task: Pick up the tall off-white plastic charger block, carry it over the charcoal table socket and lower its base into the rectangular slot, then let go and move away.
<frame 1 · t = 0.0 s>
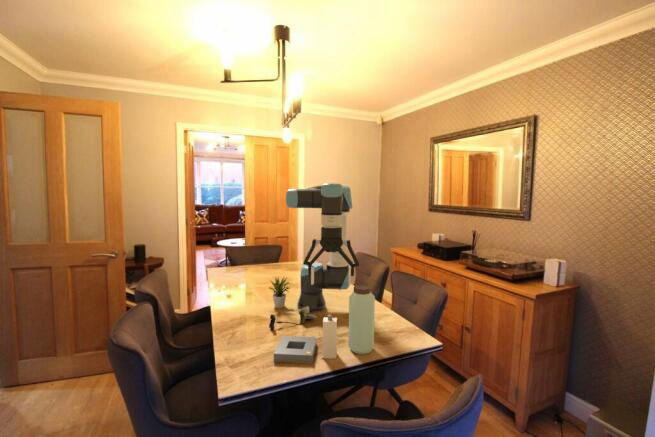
hand: (331, 284, 115), 28 cm above the table, tool pointing down, fingers open, 13 cm apart
artificial flower: (293, 324, 147), on the table
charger: (329, 355, 118), on the table
socket: (296, 352, 120), on the table
water bottle: (361, 349, 123), on the table
house plant: (279, 307, 167), on the table
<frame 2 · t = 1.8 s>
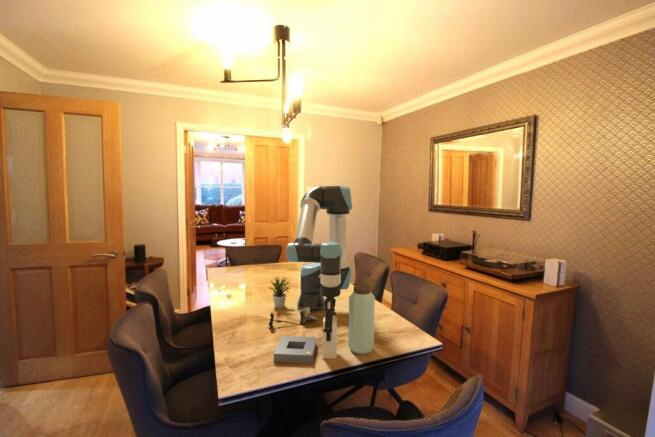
hand: (329, 339, 117), 6 cm above the table, tool pointing down, fingers open, 13 cm apart
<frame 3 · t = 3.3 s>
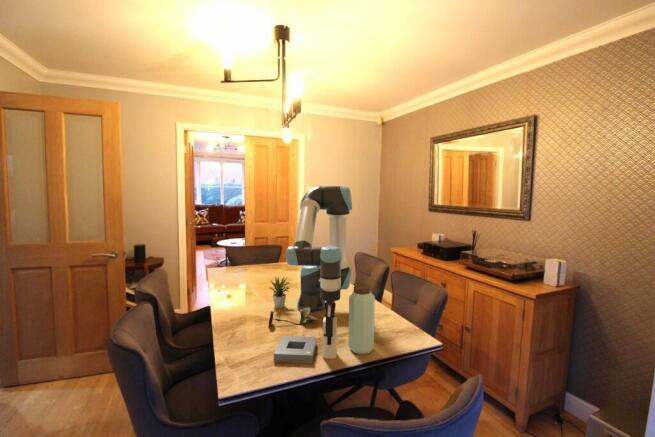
hand: (329, 348, 118), 3 cm above the table, tool pointing down, fingers closed on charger, 4 cm apart
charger: (329, 355, 118), on the table, touching gripper
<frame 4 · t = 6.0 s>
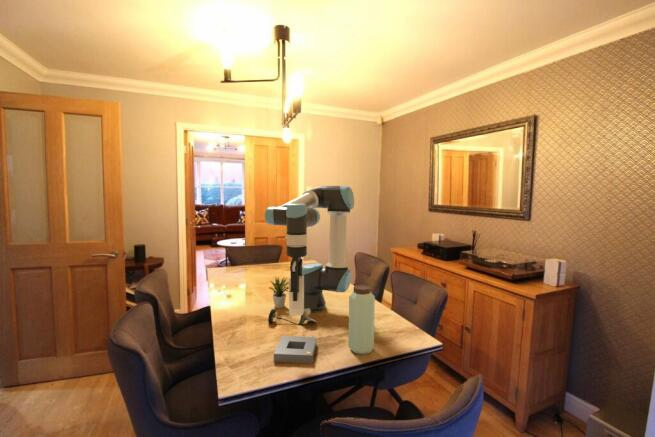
hand: (296, 306, 118), 18 cm above the table, tool pointing down, fingers closed on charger, 4 cm apart
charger: (296, 313, 119), point 16 cm above the table, touching gripper
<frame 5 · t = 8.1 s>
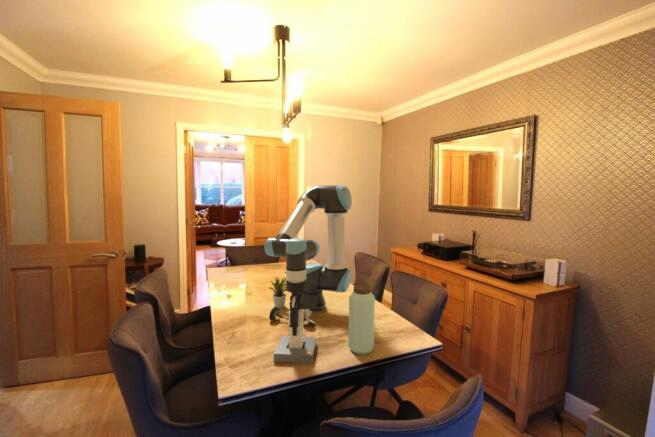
hand: (296, 339, 120), 5 cm above the table, tool pointing down, fingers closed on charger, 4 cm apart
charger: (296, 346, 120), point 2 cm above the table, touching gripper
when the fingers open (5 cm above the table, at t = 8.4 s): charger drops 2 cm, resting in socket.
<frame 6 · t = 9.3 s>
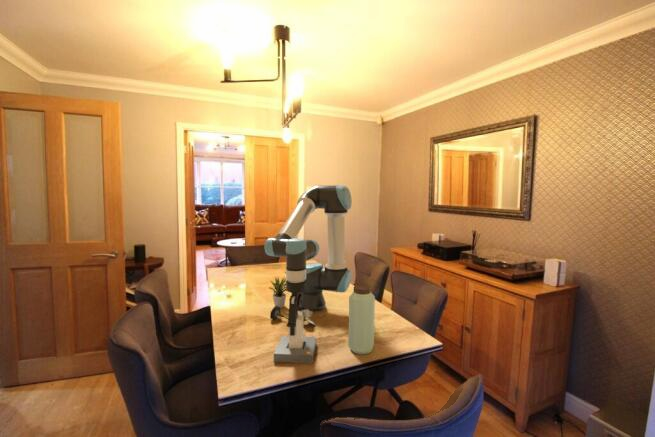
hand: (296, 334, 120), 7 cm above the table, tool pointing down, fingers open, 13 cm apart
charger: (296, 352, 120), resting in socket
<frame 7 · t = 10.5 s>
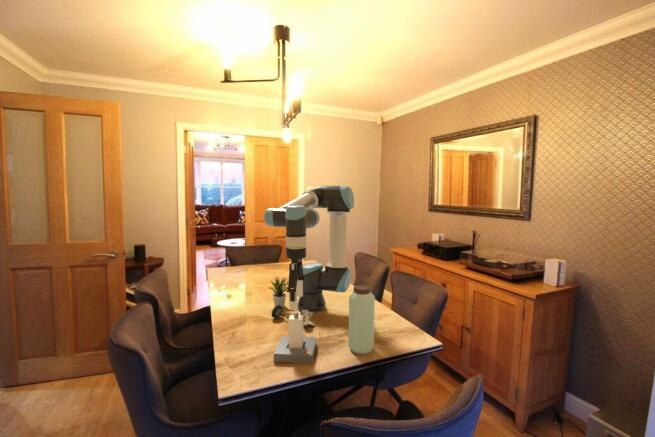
hand: (296, 302, 119), 20 cm above the table, tool pointing down, fingers open, 13 cm apart
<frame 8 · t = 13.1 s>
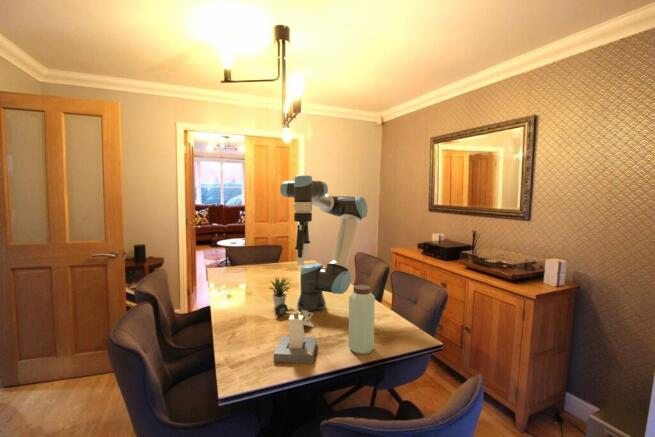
hand: (302, 261, 134), 32 cm above the table, tool pointing down, fingers open, 13 cm apart
at the end: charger 0.1 cm off-centre on the socket, point 0.0 cm above the socket's base; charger tilted 0°; the gripper is holding nothing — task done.
